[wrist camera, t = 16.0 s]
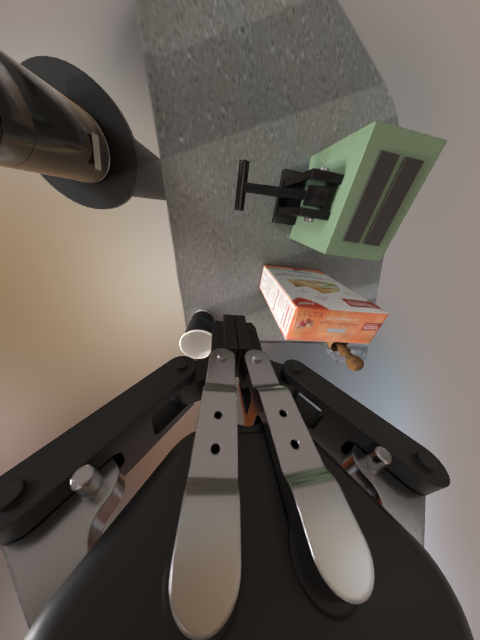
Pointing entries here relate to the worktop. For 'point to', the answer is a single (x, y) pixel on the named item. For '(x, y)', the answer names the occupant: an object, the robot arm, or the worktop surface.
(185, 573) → the robot arm
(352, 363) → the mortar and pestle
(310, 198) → the toaster lever
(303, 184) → the lever bracket
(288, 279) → the cracker box
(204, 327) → the dixie cup
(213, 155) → the worktop surface
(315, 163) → the toaster
